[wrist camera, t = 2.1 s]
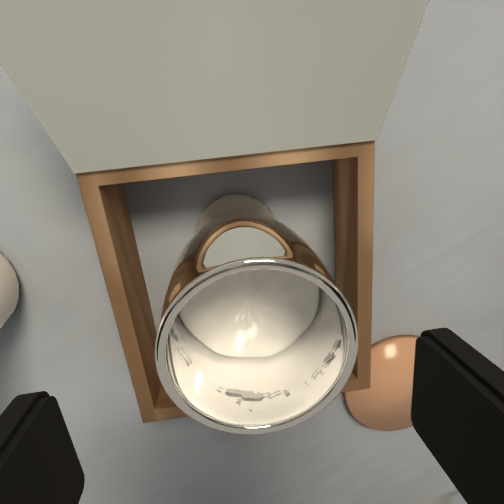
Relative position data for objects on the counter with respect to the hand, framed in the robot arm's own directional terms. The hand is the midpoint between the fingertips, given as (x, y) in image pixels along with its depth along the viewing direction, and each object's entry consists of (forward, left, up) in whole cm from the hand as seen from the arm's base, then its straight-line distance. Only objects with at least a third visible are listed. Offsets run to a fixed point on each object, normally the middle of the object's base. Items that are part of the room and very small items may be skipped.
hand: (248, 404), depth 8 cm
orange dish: (-14, +16, -17) cm, 27 cm away
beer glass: (-1, 0, -17) cm, 17 cm away
